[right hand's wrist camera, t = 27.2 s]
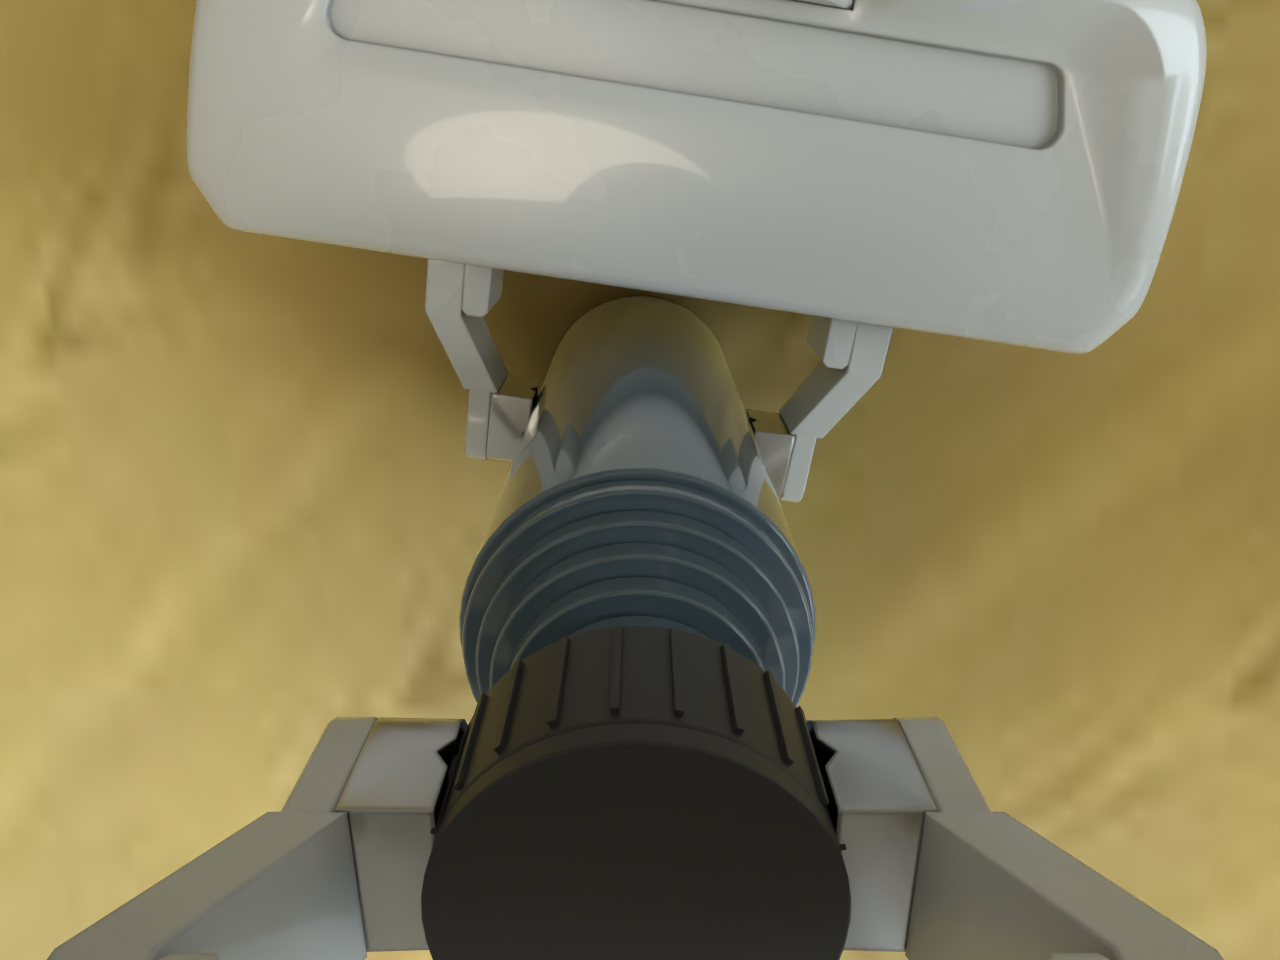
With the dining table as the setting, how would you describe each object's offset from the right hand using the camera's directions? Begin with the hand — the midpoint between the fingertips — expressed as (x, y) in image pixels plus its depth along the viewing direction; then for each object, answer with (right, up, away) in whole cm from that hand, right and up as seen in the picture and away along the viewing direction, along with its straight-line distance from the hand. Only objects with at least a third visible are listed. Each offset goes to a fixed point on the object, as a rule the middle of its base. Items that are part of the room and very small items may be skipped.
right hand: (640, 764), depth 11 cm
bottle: (0, +6, +16) cm, 17 cm away
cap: (0, -1, -2) cm, 2 cm away
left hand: (0, +3, +12) cm, 12 cm away
